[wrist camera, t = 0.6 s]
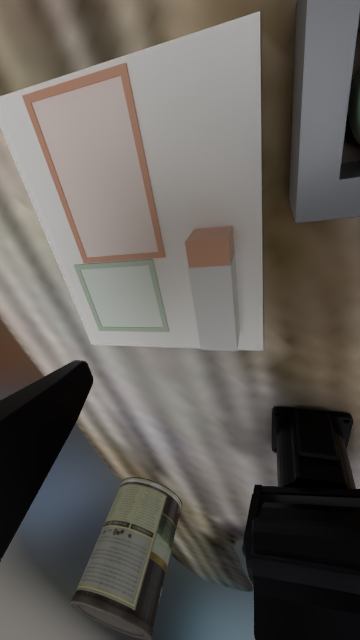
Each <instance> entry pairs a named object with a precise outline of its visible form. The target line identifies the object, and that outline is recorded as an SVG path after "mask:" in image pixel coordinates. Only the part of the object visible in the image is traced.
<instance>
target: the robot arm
mask: <svg viewBox="0 0 360 640" xmlns="http://www.w3.org/2000/svg"><path fill="white" fill-rule="evenodd" d="M92 384H93V376H92V374H91V371H90V368H89V366H88V364H87V362H86V361H80V360H75V361H73V362H71V363H69V364H67V365H65V366H63V367H61V368H60V369H58V370H56V371H54V372H52V373H50V374H48V375H47V376H45V377H43V378H41V379H39V380H37V381H36V382H34V383H32V384H30V385H28V386H26V387H24V388H23V389H21V390H19V391H17V392H15V393H13V394H11V395H10V396H8V397H6V398H4V399H2V400H0V561H1V558H2V557H3V555H4V553H5V552H6V550H7V548H8V546H9V544H10V543H11V541H12V539H13V537H14V535H15V533H16V532H17V530H18V528H19V526H20V524H21V522H22V521H23V519H24V517H25V515H26V513H27V511H28V510H29V508H30V506H31V504H32V502H33V500H34V499H35V497H36V495H37V493H38V491H39V489H40V488H41V486H42V484H43V482H44V480H45V478H46V477H47V475H48V473H49V471H50V469H51V467H52V466H53V464H54V462H55V460H56V458H57V456H58V455H59V453H60V451H61V449H62V447H63V445H64V444H65V442H66V440H67V438H68V436H69V434H70V433H71V431H72V429H73V427H74V425H75V423H76V421H77V419H78V417H79V415H80V412H81V410H82V408H83V405H84V403H85V401H86V398H87V396H88V394H89V391H90V389H91V387H92ZM352 425H353V418H352V416H351V415H349V414H344V413H333V412H323V411H312V410H301V409H291V408H280V407H276V408H273V410H272V451H273V452H275V453H277V476H278V487H277V486H262V485H255V487H254V492H253V494H252V498H251V503H250V508H249V514H248V519H247V524H246V529H245V534H244V543H243V547H242V551H243V554H244V556H245V558H246V564H247V570H248V575H249V578H250V581H251V582H252V584H253V586H254V635H255V639H256V640H360V489H356V487H355V483H354V479H353V475H352V471H351V466H350V462H349V458H348V454H347V450H346V449H347V445H348V441H349V437H350V433H351V429H352Z"/></svg>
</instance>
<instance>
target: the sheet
mask: <svg viewBox="0 0 360 640" xmlns="http://www.w3.org/2000/svg"><path fill="white" fill-rule="evenodd" d="M0 128H1V131H2V133H3V135H4V138H5V140H6V143H7V145H8V147H9V150H10V152H11V154H12V157H13V159H14V162H15V164H16V166H17V169H18V171H19V173H20V176H21V178H22V181H23V183H24V185H25V188H26V190H27V192H28V195H29V197H30V200H31V202H32V204H33V207H34V209H35V211H36V214H37V216H38V219H39V221H40V223H41V226H42V228H43V230H44V233H45V235H46V238H47V240H48V242H49V245H50V247H51V249H52V252H53V254H54V256H55V259H56V261H57V264H58V266H59V268H60V271H61V273H62V275H63V278H64V280H65V283H66V285H67V287H68V290H69V292H70V294H71V297H72V299H73V302H74V304H75V306H76V309H77V311H78V313H79V316H80V318H81V321H82V323H83V325H84V328H85V330H86V332H87V335H88V337H89V340H90V342H91V344H92V345H111V346H140V347H168V348H197V349H201V347H200V341H199V334H198V328H197V322H196V316H195V310H194V303H193V297H192V291H191V285H190V279H189V272H188V267H189V266H188V260H187V253H186V247H185V241H186V239H187V238H188V237H189V235H190V234H191V233H192V232H193V230H194V229H204V228H214V227H224V226H233V237H234V250H235V255H236V271H237V287H238V303H239V319H240V335H239V342H238V349H237V350H254V351H263V259H262V152H261V45H260V11H259V12H256V13H253V14H250V15H247V16H244V17H241V18H237V19H234V20H231V21H228V22H225V23H222V24H219V25H216V26H213V27H210V28H207V29H204V30H201V31H198V32H195V33H192V34H189V35H186V36H183V37H180V38H177V39H174V40H171V41H167V42H164V43H161V44H158V45H155V46H152V47H149V48H146V49H143V50H140V51H137V52H134V53H131V54H128V55H125V56H122V57H119V58H116V59H113V60H110V61H107V62H104V63H101V64H98V65H94V66H91V67H88V68H85V69H82V70H79V71H76V72H73V73H70V74H67V75H64V76H61V77H58V78H55V79H52V80H49V81H46V82H43V83H40V84H37V85H34V86H31V87H28V88H24V89H21V90H18V91H15V92H12V93H9V94H6V95H3V96H0Z"/></svg>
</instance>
